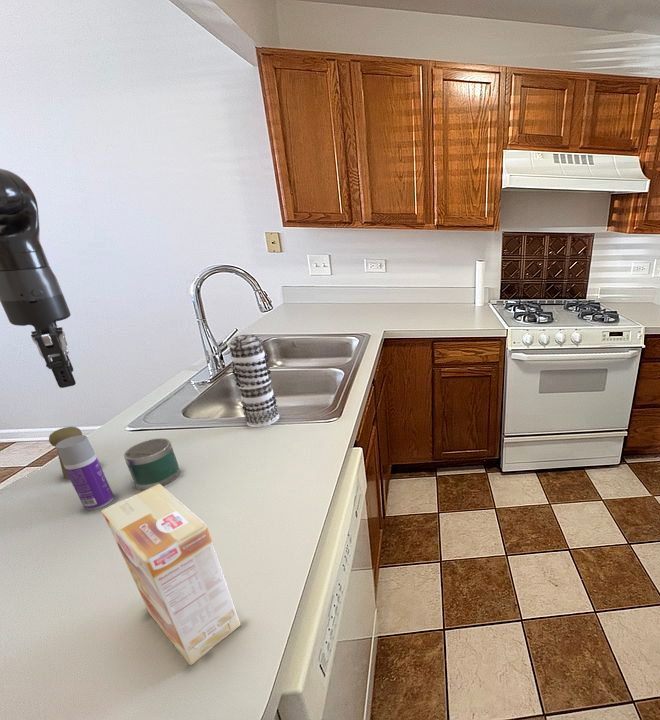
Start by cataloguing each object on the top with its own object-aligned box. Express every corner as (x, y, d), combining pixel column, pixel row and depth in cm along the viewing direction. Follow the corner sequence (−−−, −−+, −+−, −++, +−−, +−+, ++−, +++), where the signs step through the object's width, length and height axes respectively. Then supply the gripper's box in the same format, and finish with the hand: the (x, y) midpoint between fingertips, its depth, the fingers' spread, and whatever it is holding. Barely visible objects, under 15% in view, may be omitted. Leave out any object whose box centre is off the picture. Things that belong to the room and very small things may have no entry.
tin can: (127, 492, 85) (114, 461, 82) (147, 469, 92) (136, 440, 89) (169, 487, 87) (158, 456, 84) (186, 465, 94) (177, 436, 91)
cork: (61, 482, 88) (41, 440, 84) (65, 469, 93) (45, 429, 88) (98, 471, 92) (80, 431, 88) (99, 459, 96) (82, 420, 92)
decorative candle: (287, 417, 115) (270, 335, 106) (256, 431, 108) (235, 345, 98) (270, 408, 120) (252, 329, 110) (238, 422, 112) (216, 338, 103)
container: (118, 499, 83) (91, 438, 78) (89, 513, 79) (59, 451, 74) (108, 492, 85) (82, 432, 80) (80, 505, 82) (50, 443, 76)
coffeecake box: (144, 609, 61) (98, 509, 53) (196, 575, 66) (160, 481, 59) (188, 669, 53) (141, 561, 46) (243, 624, 58) (208, 522, 51)
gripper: (1, 291, 71) (38, 374, 77) (-5, 305, 61) (38, 398, 67) (60, 285, 76) (91, 363, 82) (62, 297, 66) (97, 384, 72)
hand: (67, 379), depth 74 cm, fingers open, 8 cm apart
